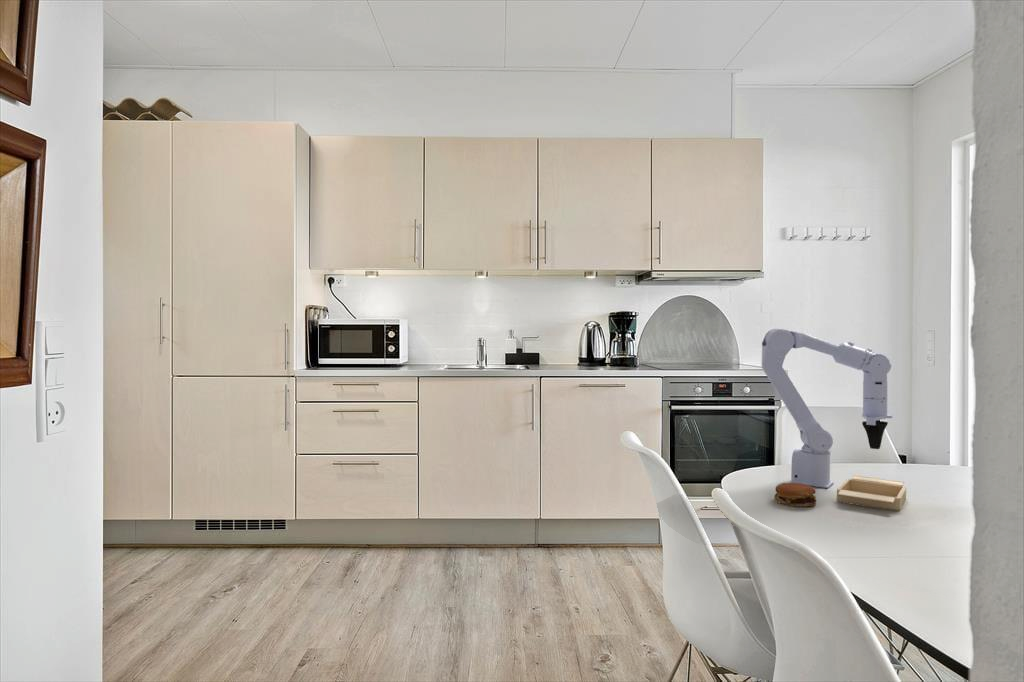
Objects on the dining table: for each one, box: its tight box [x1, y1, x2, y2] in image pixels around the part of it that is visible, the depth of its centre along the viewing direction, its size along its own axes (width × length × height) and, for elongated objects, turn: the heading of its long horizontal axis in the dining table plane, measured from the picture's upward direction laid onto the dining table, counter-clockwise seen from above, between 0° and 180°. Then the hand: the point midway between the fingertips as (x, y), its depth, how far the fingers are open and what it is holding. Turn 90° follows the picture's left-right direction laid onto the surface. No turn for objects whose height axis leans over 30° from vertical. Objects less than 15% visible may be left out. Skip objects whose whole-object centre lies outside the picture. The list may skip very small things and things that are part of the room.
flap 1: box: [850, 474, 905, 486], centre depth 171 cm, size 12×1×4 cm
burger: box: [774, 482, 817, 507], centre depth 162 cm, size 10×9×5 cm
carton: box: [836, 478, 907, 512], centre depth 164 cm, size 14×14×3 cm
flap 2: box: [838, 490, 895, 504], centre depth 157 cm, size 12×1×4 cm
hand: (874, 448), depth 177 cm, fingers closed
